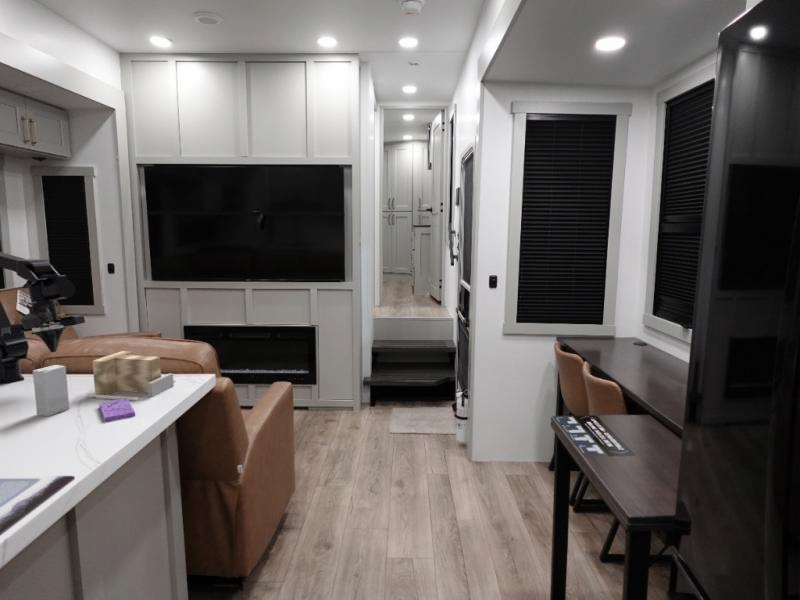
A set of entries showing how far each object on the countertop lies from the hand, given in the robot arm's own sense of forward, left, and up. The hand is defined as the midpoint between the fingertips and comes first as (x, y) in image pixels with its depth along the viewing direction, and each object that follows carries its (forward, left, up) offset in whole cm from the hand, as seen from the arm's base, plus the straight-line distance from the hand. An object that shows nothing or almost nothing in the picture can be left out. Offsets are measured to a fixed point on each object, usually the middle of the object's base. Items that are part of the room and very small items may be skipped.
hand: (53, 352), depth 148 cm
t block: (+19, +16, -11) cm, 27 cm away
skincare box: (+25, -5, -11) cm, 28 cm away
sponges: (+36, +7, -12) cm, 38 cm away
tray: (+20, +16, -11) cm, 28 cm away
